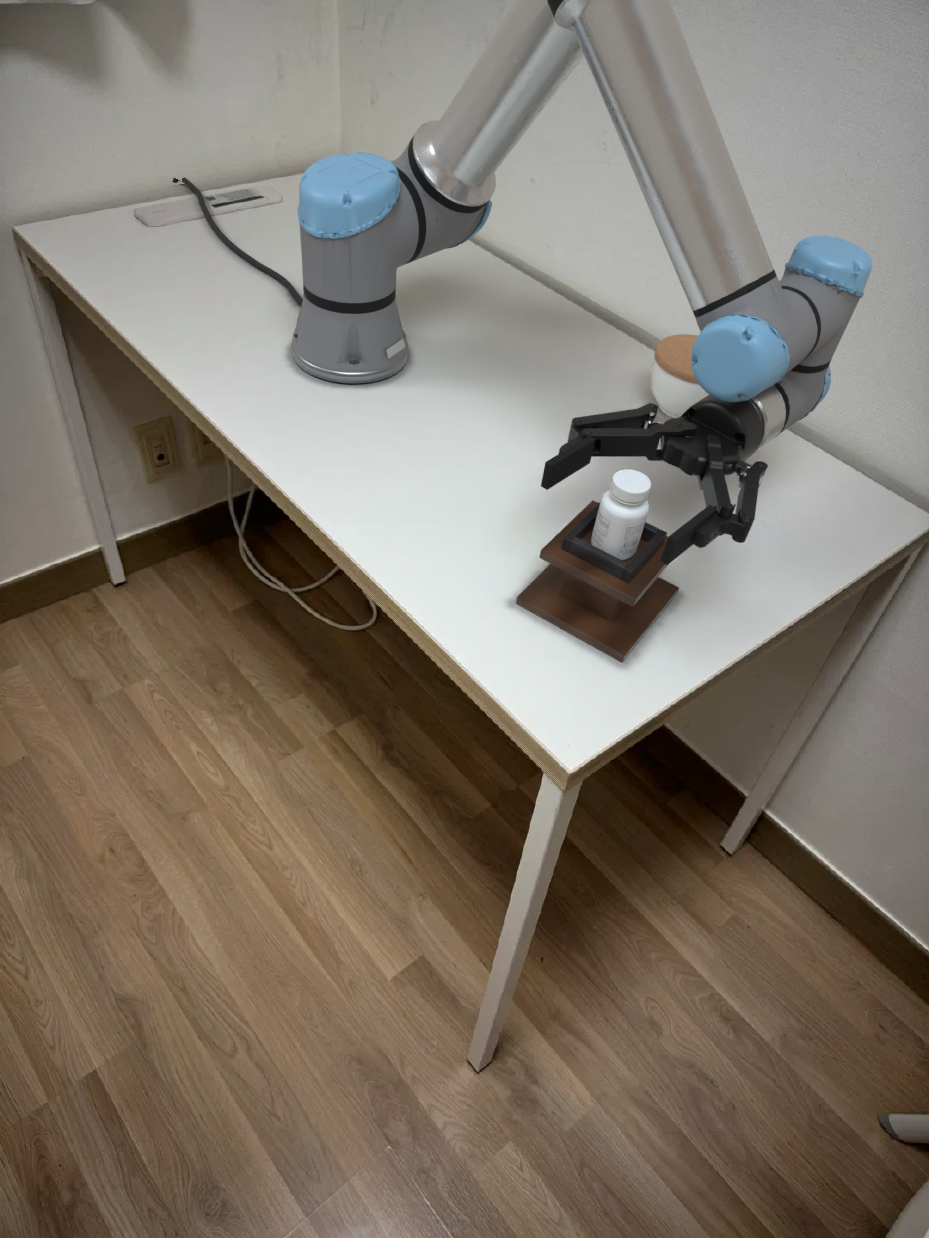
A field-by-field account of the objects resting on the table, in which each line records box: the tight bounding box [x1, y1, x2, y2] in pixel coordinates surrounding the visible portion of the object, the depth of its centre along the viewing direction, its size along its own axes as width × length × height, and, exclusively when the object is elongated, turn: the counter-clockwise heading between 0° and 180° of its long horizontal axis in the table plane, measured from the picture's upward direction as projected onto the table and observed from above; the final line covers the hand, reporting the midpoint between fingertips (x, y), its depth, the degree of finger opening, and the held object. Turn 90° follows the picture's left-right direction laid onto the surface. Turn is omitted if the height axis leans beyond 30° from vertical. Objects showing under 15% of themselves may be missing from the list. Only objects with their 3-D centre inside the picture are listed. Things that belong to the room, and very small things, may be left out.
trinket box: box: [650, 333, 709, 419], centre depth 107 cm, size 11×11×9 cm
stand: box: [515, 500, 680, 663], centre depth 81 cm, size 12×12×8 cm
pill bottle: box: [591, 468, 652, 560], centre depth 76 cm, size 4×4×8 cm
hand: (604, 512), depth 73 cm, fingers open, 13 cm apart
